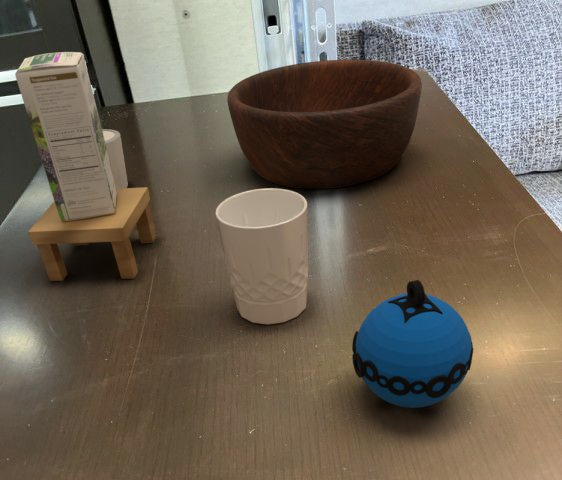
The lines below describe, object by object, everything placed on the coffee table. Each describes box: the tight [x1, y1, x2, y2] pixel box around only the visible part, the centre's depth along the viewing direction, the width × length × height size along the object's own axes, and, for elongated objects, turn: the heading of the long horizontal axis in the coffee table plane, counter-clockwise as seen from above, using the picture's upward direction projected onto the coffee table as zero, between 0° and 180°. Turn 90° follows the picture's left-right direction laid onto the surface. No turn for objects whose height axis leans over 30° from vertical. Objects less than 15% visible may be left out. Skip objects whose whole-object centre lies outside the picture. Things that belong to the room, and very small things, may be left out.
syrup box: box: [14, 51, 117, 222], centre depth 62 cm, size 6×6×14 cm
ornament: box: [351, 279, 474, 409], centre depth 45 cm, size 9×9×10 cm
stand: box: [27, 186, 157, 282], centre depth 68 cm, size 10×10×6 cm
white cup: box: [215, 187, 309, 325], centre depth 56 cm, size 8×8×10 cm
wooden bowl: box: [226, 59, 423, 190], centre depth 83 cm, size 25×25×10 cm
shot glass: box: [102, 128, 129, 189], centre depth 84 cm, size 7×7×7 cm
